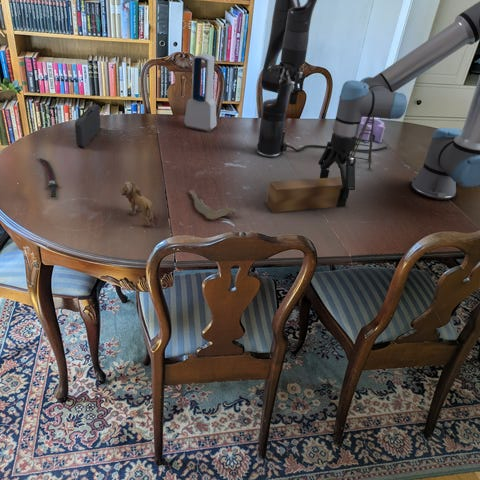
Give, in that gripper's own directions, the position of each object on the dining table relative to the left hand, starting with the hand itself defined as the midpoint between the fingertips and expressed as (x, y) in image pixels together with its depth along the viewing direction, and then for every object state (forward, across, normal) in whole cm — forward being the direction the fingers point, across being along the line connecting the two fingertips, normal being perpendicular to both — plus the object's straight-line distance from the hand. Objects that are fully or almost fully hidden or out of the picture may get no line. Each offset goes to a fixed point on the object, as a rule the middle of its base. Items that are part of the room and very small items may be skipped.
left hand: (287, 100), depth 150 cm
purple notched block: (+29, +40, -61) cm, 79 cm away
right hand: (+26, -18, -12) cm, 34 cm away
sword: (+29, +13, +75) cm, 81 cm away
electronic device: (+29, +54, +13) cm, 63 cm away
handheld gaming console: (+29, +47, +60) cm, 81 cm away
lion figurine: (+29, -17, +50) cm, 60 cm away
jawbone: (+29, -14, +27) cm, 42 cm away
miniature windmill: (+29, +9, -40) cm, 50 cm away
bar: (+29, -18, -3) cm, 34 cm away
